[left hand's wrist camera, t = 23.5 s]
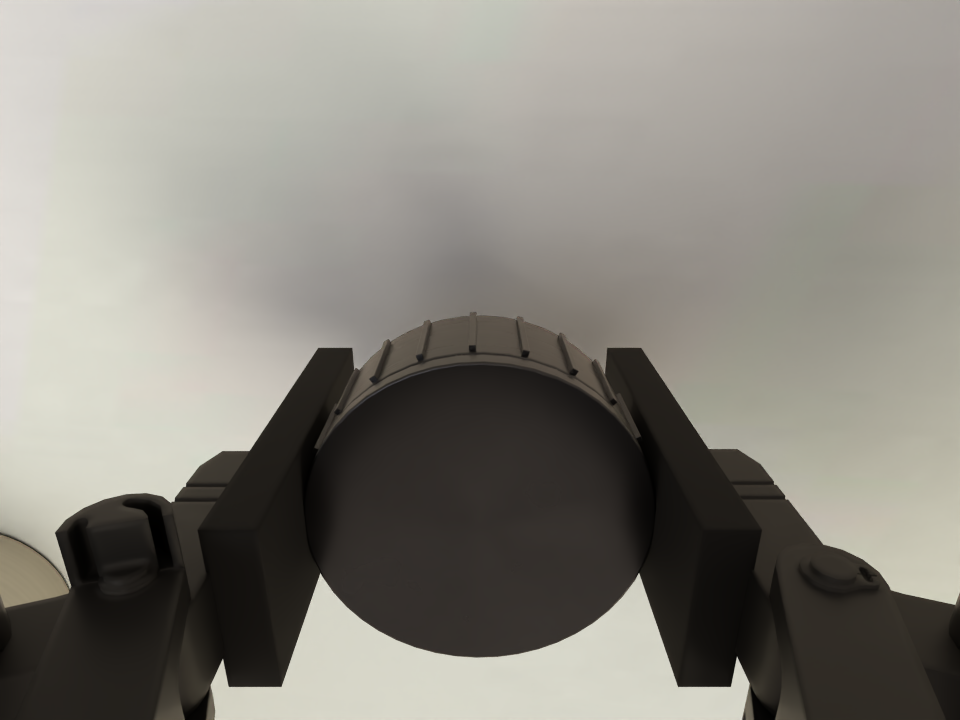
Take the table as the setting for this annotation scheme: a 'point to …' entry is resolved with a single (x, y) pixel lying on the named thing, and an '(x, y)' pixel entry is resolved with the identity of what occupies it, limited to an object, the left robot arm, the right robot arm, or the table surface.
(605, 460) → the lid
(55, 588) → the beige cylindrical container
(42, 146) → the table surface
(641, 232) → the table surface
